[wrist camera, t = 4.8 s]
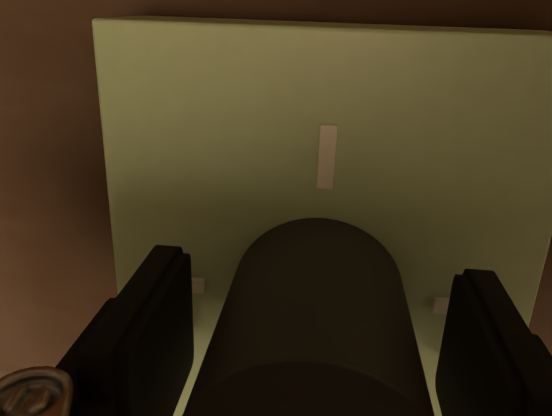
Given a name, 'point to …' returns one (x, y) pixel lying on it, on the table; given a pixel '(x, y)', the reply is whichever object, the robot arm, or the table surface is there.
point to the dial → (313, 331)
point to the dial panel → (329, 150)
